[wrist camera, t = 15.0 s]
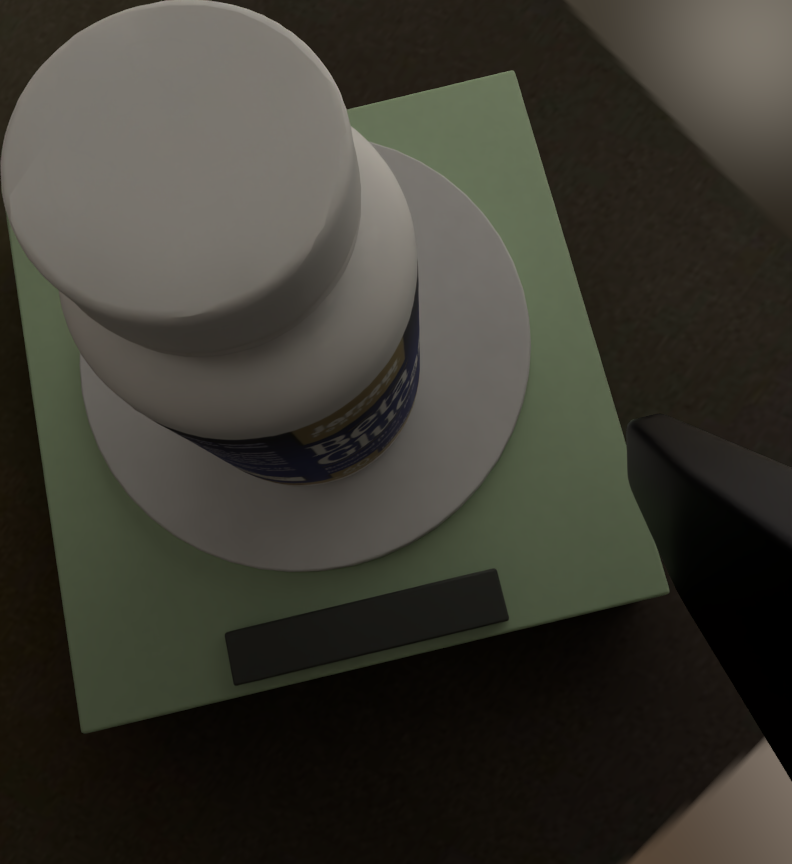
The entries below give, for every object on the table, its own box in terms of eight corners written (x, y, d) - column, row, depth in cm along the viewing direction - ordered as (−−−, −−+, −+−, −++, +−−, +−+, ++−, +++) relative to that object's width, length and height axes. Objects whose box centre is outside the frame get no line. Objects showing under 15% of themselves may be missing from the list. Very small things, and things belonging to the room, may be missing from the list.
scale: (642, 590, 19) (680, 594, 16) (121, 715, 19) (67, 741, 16) (505, 121, 22) (517, 52, 19) (47, 231, 22) (-12, 178, 19)
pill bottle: (369, 525, 17) (293, 468, 7) (160, 439, 18) (-158, 284, 8) (455, 315, 18) (487, 22, 8) (253, 240, 18) (64, -116, 9)
